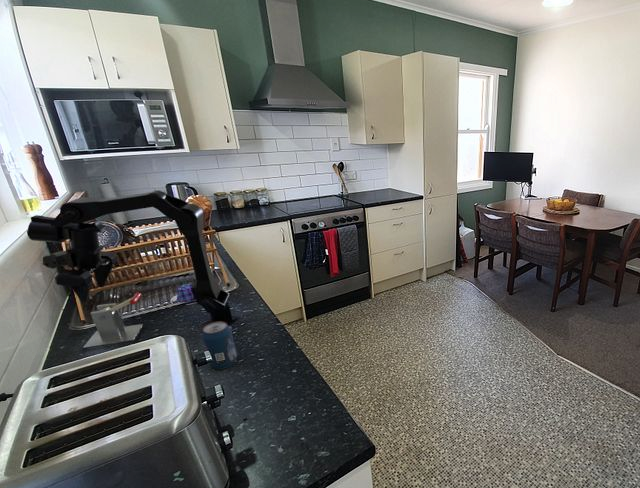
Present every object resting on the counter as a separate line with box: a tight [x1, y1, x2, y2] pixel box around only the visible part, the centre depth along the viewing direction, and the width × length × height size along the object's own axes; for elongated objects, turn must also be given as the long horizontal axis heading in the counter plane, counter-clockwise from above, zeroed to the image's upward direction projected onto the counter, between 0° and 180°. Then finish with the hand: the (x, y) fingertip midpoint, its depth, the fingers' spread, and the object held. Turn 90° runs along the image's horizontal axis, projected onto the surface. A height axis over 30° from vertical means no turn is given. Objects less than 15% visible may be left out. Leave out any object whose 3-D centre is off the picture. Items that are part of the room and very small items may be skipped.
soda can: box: [201, 321, 238, 370], centre depth 96 cm, size 7×7×12 cm
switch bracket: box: [82, 302, 144, 350], centre depth 104 cm, size 12×9×11 cm
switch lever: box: [100, 292, 142, 314], centre depth 103 cm, size 11×5×2 cm, turn 110°
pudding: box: [170, 283, 197, 306], centre depth 129 cm, size 12×12×5 cm
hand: (92, 293), depth 102 cm, fingers open, 9 cm apart
